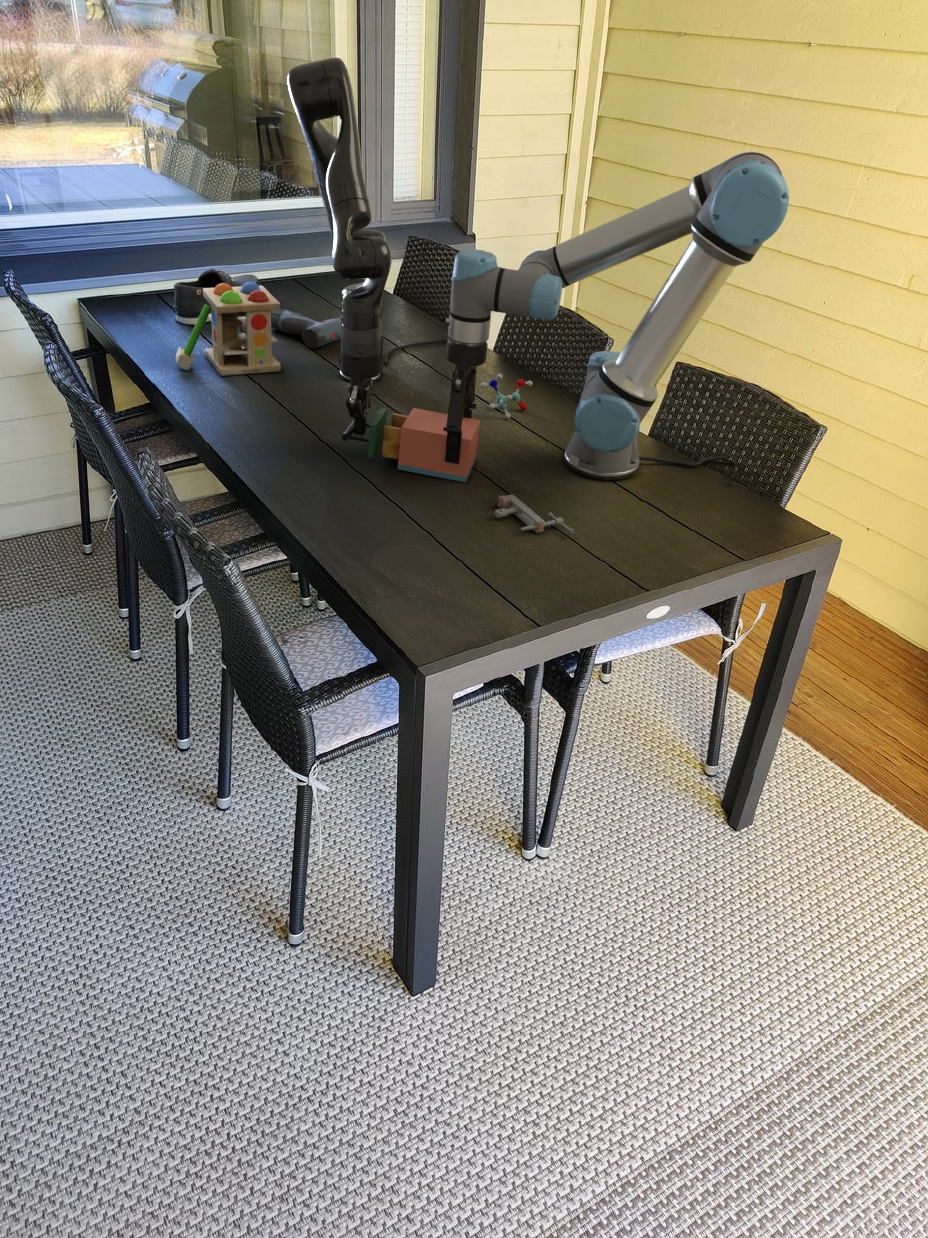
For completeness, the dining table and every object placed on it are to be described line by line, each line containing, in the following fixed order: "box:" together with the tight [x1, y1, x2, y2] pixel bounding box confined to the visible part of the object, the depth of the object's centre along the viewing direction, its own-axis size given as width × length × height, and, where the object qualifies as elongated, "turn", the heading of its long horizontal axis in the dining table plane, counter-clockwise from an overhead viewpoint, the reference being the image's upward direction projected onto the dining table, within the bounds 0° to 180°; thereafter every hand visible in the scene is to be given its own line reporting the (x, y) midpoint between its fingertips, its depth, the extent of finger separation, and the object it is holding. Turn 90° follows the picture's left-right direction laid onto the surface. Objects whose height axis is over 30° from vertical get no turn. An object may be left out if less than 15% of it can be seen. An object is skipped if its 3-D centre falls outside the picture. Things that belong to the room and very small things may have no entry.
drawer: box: [341, 407, 409, 461], centre depth 193 cm, size 18×9×7 cm, turn 79°
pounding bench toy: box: [174, 282, 282, 377], centre depth 225 cm, size 23×14×18 cm, turn 116°
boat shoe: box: [173, 268, 262, 325], centre depth 261 cm, size 13×33×10 cm, turn 147°
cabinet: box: [397, 407, 481, 483], centre depth 192 cm, size 14×10×9 cm
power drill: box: [271, 308, 341, 349], centre depth 252 cm, size 5×19×20 cm
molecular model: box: [480, 373, 533, 420], centre depth 219 cm, size 12×10×10 cm
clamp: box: [494, 494, 575, 535], centre depth 178 cm, size 15×2×10 cm
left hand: (360, 433), depth 194 cm, fingers closed
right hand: (457, 450), depth 192 cm, fingers closed on cabinet, 10 cm apart
